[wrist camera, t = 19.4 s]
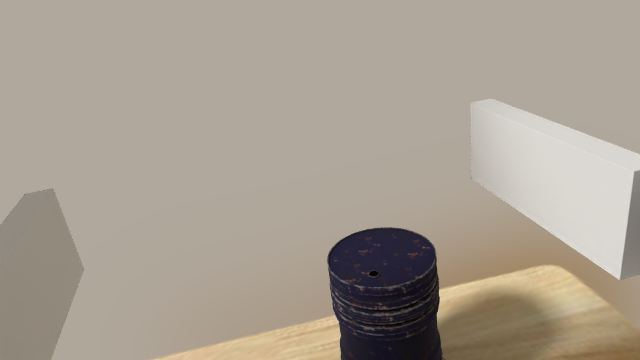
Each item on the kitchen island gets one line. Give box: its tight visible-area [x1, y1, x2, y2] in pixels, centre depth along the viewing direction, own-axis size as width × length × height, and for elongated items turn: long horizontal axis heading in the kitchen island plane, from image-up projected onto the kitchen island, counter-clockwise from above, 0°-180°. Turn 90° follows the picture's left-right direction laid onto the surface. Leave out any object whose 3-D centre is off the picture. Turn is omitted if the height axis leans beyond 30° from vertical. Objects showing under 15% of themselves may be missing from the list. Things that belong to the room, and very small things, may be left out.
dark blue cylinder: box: [327, 228, 442, 360], centre depth 47 cm, size 10×10×15 cm
